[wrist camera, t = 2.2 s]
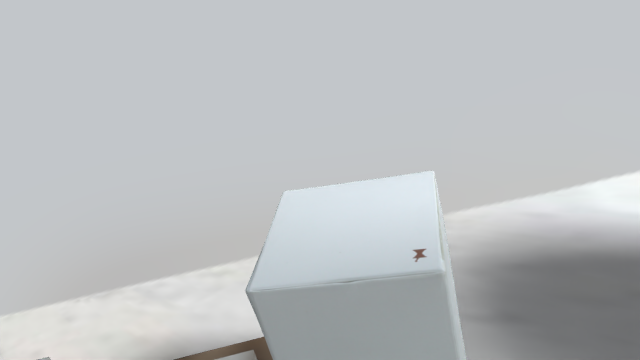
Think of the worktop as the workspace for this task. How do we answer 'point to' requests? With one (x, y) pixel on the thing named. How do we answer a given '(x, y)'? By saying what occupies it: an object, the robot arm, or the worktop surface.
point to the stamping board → (236, 352)
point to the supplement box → (358, 274)
